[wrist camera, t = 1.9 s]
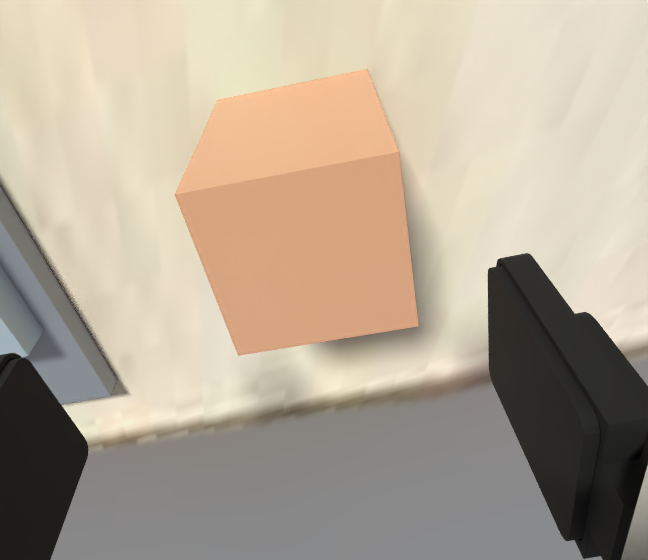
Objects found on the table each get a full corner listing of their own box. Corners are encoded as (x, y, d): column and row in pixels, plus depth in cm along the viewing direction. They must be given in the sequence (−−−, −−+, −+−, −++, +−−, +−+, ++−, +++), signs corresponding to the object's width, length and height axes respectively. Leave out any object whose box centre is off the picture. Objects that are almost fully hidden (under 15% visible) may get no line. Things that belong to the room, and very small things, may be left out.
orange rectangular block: (367, 68, 17) (398, 151, 11) (386, 205, 20) (418, 326, 14) (217, 99, 17) (175, 194, 12) (257, 228, 20) (238, 355, 14)
